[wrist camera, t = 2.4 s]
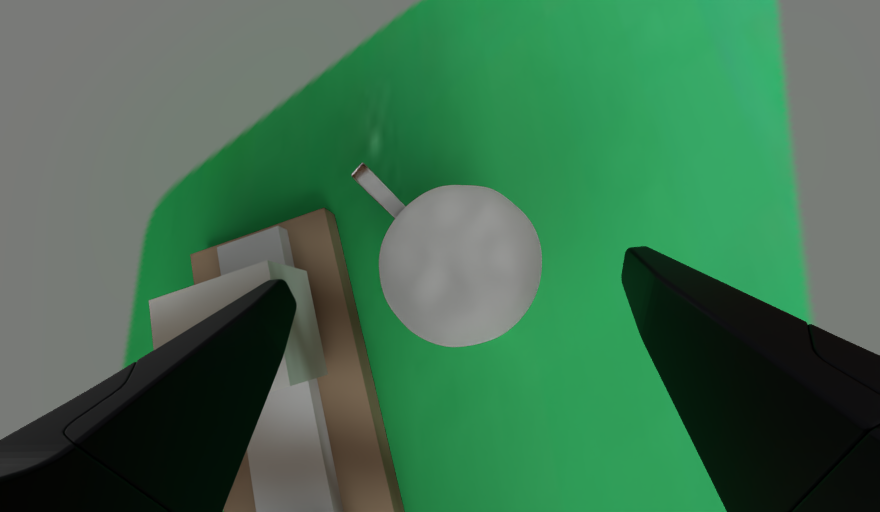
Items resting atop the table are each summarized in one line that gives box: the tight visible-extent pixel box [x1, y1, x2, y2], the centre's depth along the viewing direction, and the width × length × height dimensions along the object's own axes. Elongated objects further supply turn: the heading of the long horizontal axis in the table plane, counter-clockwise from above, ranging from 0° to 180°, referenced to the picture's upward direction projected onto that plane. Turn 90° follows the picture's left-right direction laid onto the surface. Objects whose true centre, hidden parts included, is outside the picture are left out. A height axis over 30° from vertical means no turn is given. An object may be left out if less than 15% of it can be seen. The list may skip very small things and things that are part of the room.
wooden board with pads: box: [149, 208, 404, 512], centre depth 15 cm, size 24×8×5 cm, turn 17°
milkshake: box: [351, 163, 542, 347], centre depth 13 cm, size 4×5×10 cm
